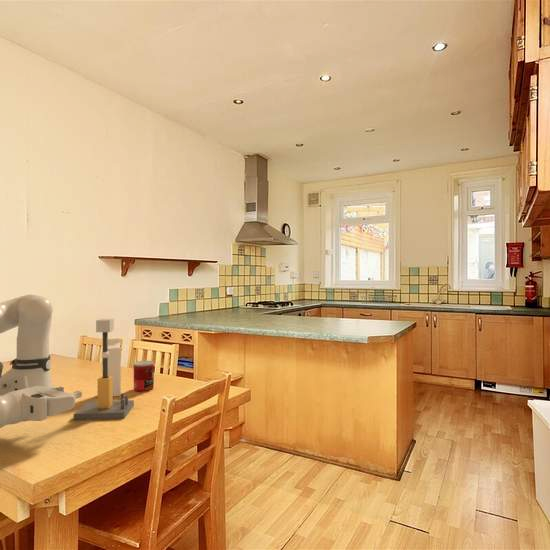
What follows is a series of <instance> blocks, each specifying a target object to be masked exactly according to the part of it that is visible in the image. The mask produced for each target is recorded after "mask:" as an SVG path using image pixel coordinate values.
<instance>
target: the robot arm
mask: <svg viewBox="0 0 550 550" xmlns="http://www.w3.org/2000/svg"><path fill="white" fill-rule="evenodd" d="M53 308H54V307H53V305H52V303H51V301H50V300H49V299H48V298H46V297H44V296H41V295H37V294H26V295H25V294H24V295H21V296H18V297H15V298H12V299H8V300H5V301H2V302H0V334H3V333H5V332H8V331H10V330H12V329H15V328H17V327H18V328H17V336H16V358H14V359H12V360H11V361H9V366H11V368H10V369H8V370H7V371H6V372H5V373H4V374H2V373H3V370H4V369H3V368H4V364H3V362H1V361H0V429H2V428H3V427H6V426H8V425H16V424H19V423H22V422H23V423H25V422H30V421H31V422H33V421H34V422H42V421H45V420H47V419H48V417H52V416H55V415H59V414H61V413H64V412H67V411H69V410H71V409H73V408H74V407H75V405H76V400H77V399H81V398H82V397H83V392H82V391H80V390H77V391H73V392H72V393H68V392H65V387H63V386H57V387H54V386H53V382H52V377H51V365H52V362H51V361H52V360H51V355H50V332H51V327H52V315H53V311H54V309H53Z"/></svg>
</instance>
